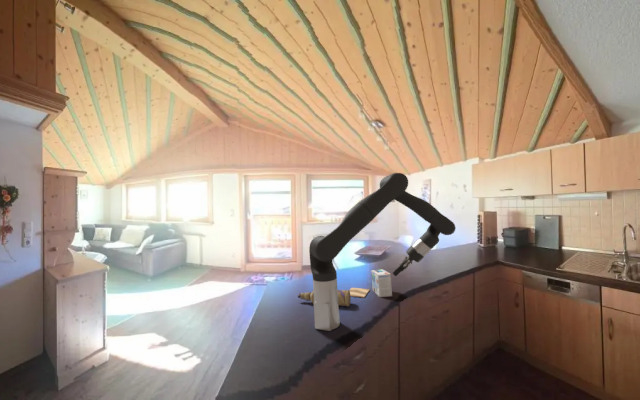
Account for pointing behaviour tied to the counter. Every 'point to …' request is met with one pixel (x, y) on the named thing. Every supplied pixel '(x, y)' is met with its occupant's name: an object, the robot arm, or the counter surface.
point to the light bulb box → (381, 283)
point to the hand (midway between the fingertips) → (394, 274)
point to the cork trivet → (358, 292)
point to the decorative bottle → (342, 297)
